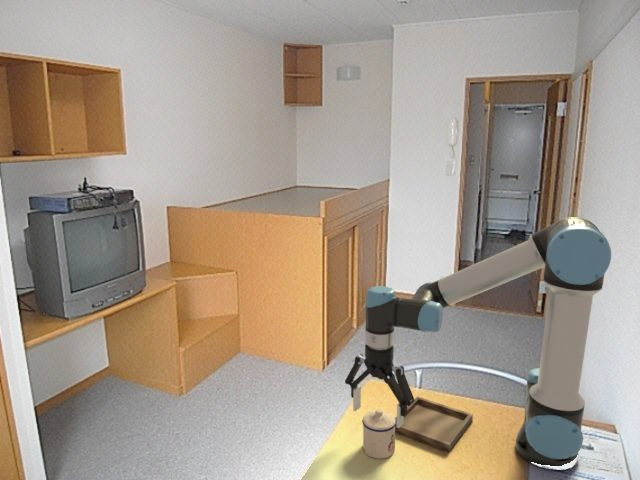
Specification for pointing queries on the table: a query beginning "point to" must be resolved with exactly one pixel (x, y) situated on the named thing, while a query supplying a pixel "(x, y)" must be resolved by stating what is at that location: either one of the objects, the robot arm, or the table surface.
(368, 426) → the teacup with lid
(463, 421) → the walnut tray
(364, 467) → the table surface
